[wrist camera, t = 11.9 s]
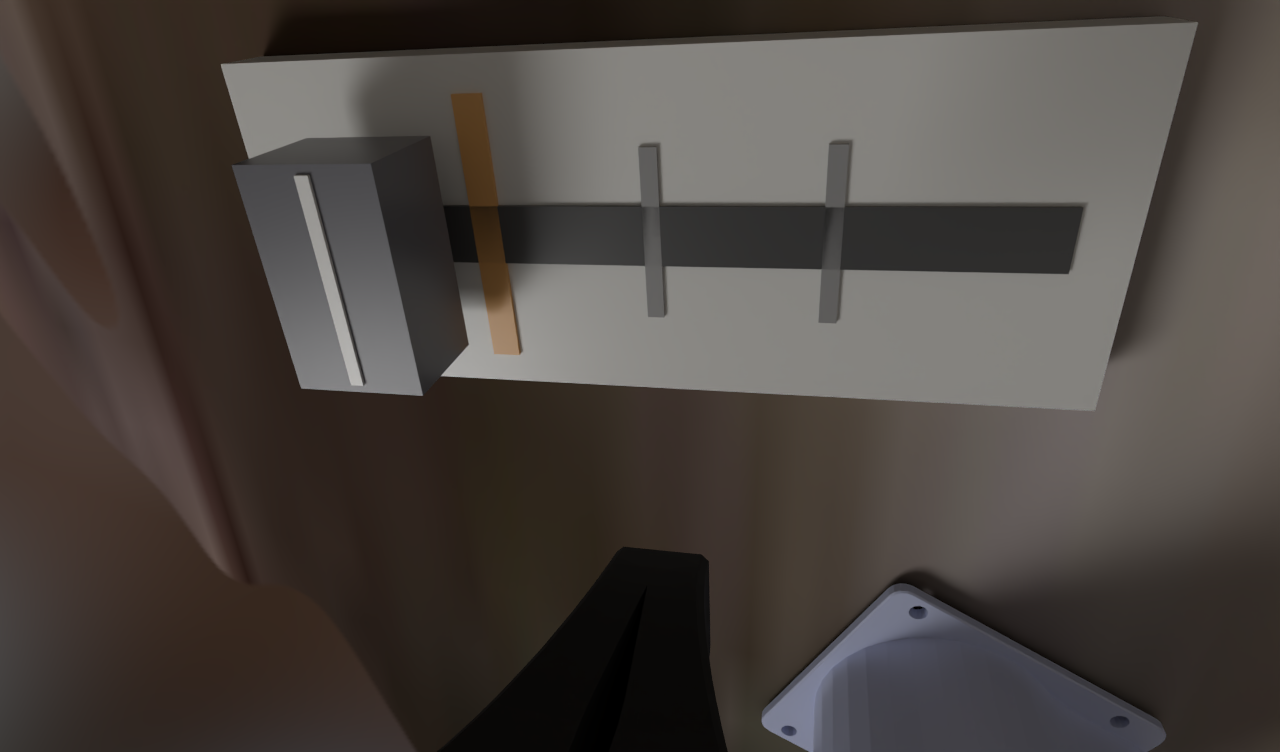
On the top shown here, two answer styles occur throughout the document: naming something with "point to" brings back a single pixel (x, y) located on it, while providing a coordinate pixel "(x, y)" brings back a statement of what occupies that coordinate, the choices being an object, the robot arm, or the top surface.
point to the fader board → (777, 200)
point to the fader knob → (357, 260)
